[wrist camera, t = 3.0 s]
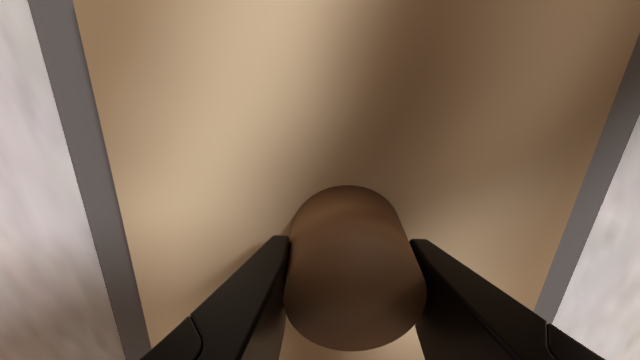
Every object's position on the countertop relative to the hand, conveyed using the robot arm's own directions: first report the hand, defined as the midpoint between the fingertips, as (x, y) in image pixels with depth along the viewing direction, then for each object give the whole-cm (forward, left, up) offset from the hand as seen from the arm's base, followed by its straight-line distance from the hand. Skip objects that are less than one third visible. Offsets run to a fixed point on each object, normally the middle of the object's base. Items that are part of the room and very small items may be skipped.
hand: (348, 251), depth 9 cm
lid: (0, 0, -2) cm, 2 cm away
